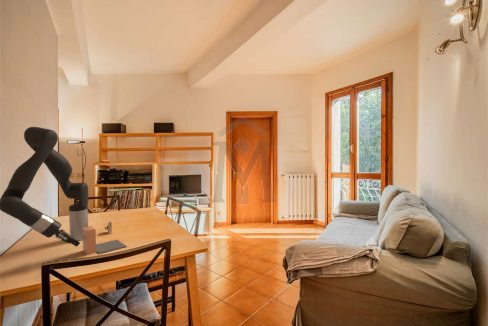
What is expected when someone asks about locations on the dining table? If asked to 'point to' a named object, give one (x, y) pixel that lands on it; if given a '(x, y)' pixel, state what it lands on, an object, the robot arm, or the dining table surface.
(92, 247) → the pink rectangular block
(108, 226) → the architectural model
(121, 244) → the mat
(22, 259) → the dining table surface
